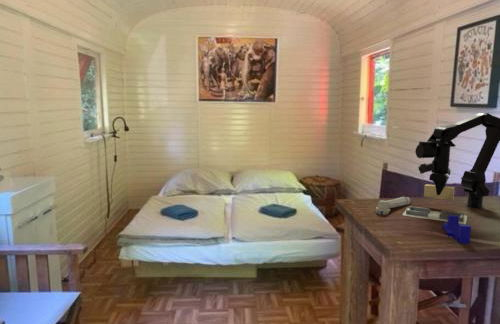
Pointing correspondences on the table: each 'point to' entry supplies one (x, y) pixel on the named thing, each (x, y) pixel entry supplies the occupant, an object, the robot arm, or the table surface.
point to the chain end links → (425, 211)
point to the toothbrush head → (391, 204)
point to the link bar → (445, 194)
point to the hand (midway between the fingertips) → (438, 194)
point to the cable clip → (457, 229)
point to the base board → (434, 216)
